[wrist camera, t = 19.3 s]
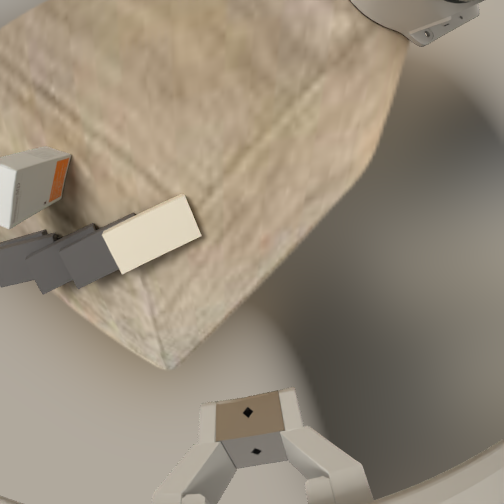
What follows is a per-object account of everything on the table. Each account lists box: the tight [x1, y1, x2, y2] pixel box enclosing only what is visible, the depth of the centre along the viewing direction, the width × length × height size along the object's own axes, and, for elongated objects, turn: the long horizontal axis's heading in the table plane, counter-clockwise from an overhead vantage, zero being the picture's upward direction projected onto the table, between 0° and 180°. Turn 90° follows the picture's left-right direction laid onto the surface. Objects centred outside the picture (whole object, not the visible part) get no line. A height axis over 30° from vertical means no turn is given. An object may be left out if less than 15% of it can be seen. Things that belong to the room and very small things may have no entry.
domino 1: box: [0, 230, 47, 247], centre depth 37 cm, size 2×5×10 cm
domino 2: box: [0, 233, 57, 287], centre depth 34 cm, size 2×5×10 cm
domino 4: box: [59, 213, 135, 289], centre depth 35 cm, size 2×5×10 cm
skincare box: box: [0, 146, 71, 229], centre depth 28 cm, size 6×4×12 cm
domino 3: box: [25, 223, 96, 294], centre depth 35 cm, size 2×5×10 cm
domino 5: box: [102, 194, 201, 274], centre depth 35 cm, size 2×5×10 cm
